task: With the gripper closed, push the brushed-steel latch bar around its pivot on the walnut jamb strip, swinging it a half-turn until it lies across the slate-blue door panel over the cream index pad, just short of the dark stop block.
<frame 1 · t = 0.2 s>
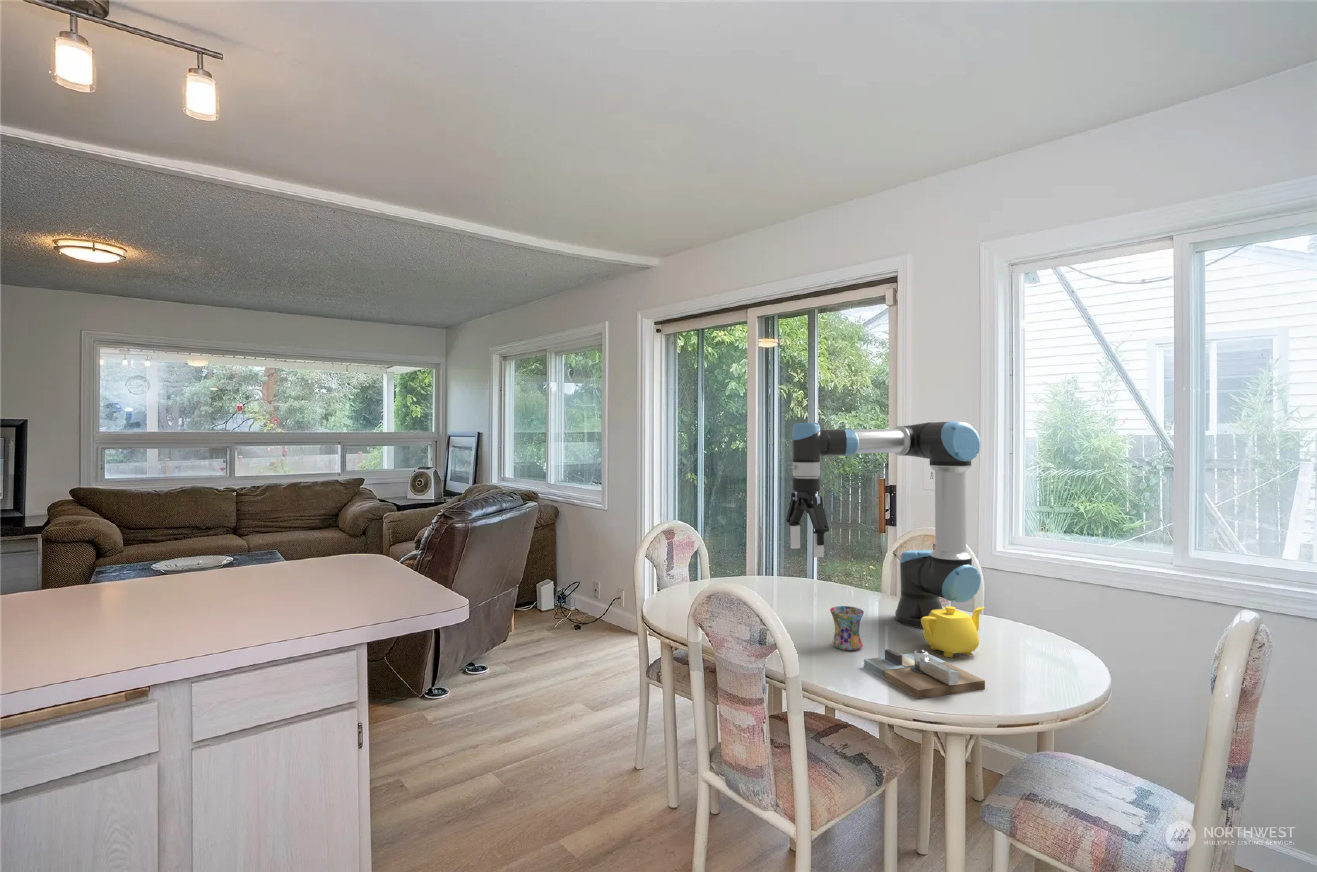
hand: (806, 552, 178), 28 cm above the table, fingers open, 13 cm apart
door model: (921, 678, 158), on the table
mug: (846, 646, 183), on the table
teapot: (953, 651, 178), on the table
latch bar: (934, 665, 153), point 5 cm above the table, hinge at 0.0°
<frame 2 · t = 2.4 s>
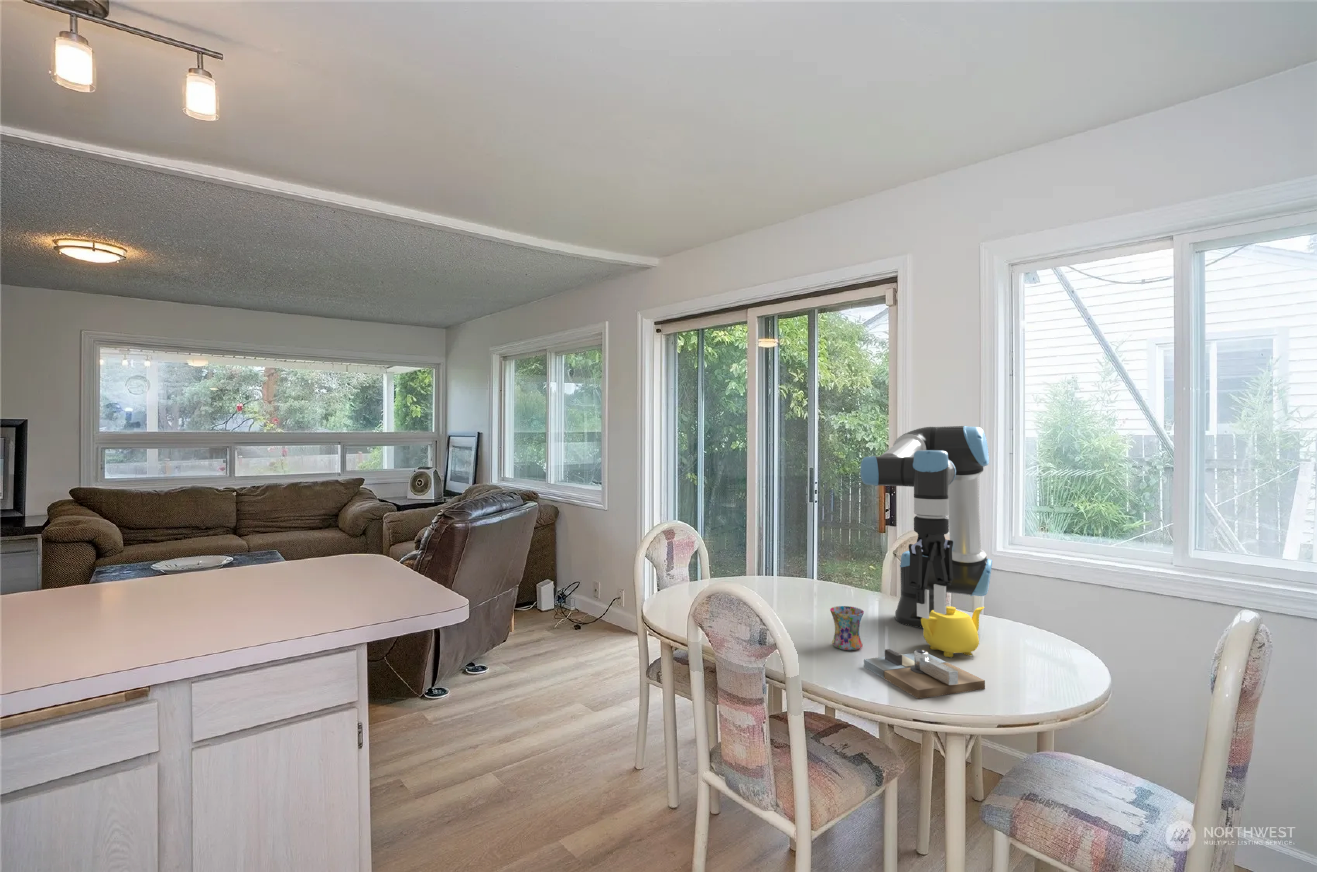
hand: (931, 614, 148), 19 cm above the table, fingers open, 6 cm apart
nothing on the table moved.
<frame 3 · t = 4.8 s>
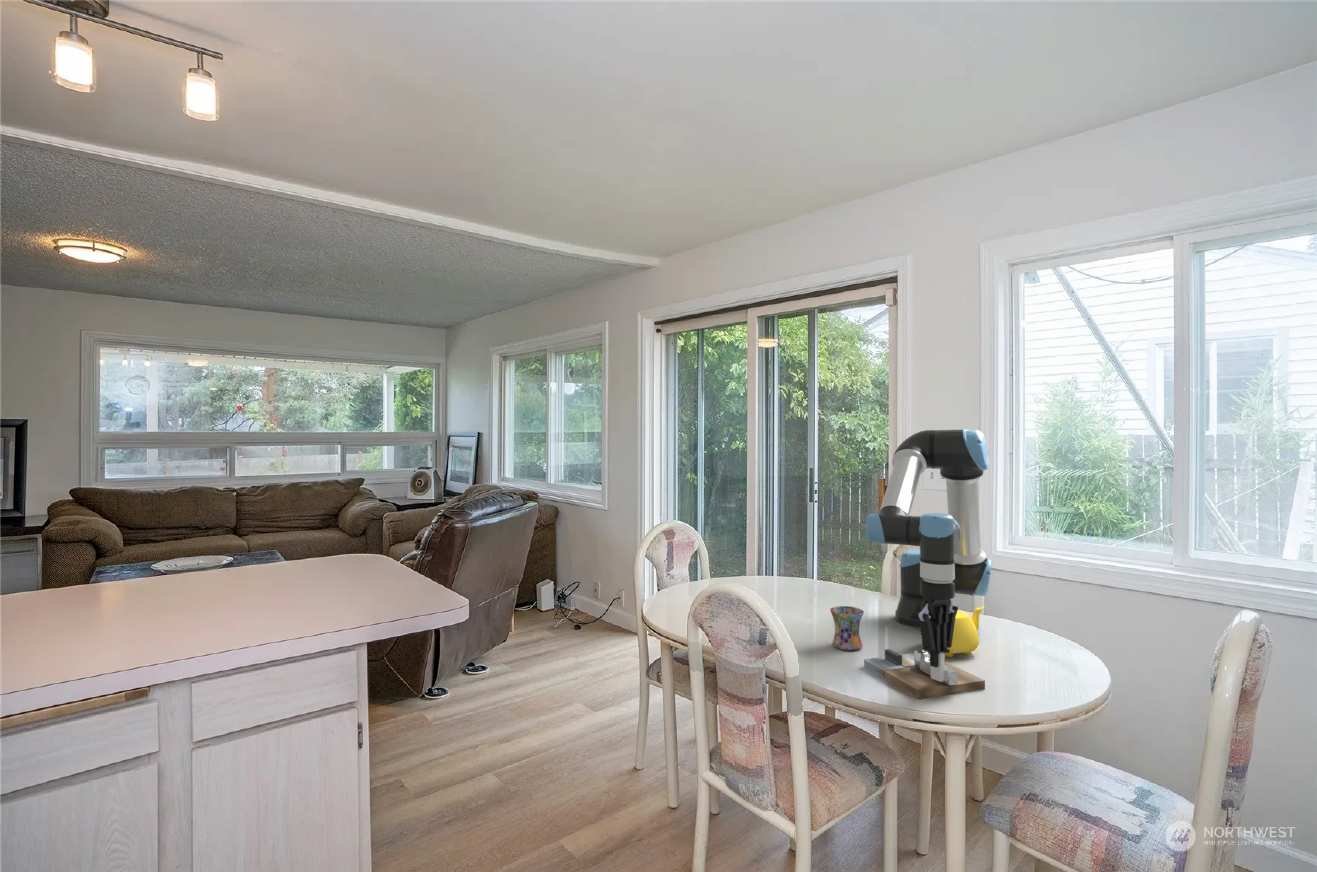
hand: (937, 679, 149), 3 cm above the table, fingers closed
latch bar: (934, 665, 153), point 5 cm above the table, hinge at 0.0°, touching gripper
everything else where it was.
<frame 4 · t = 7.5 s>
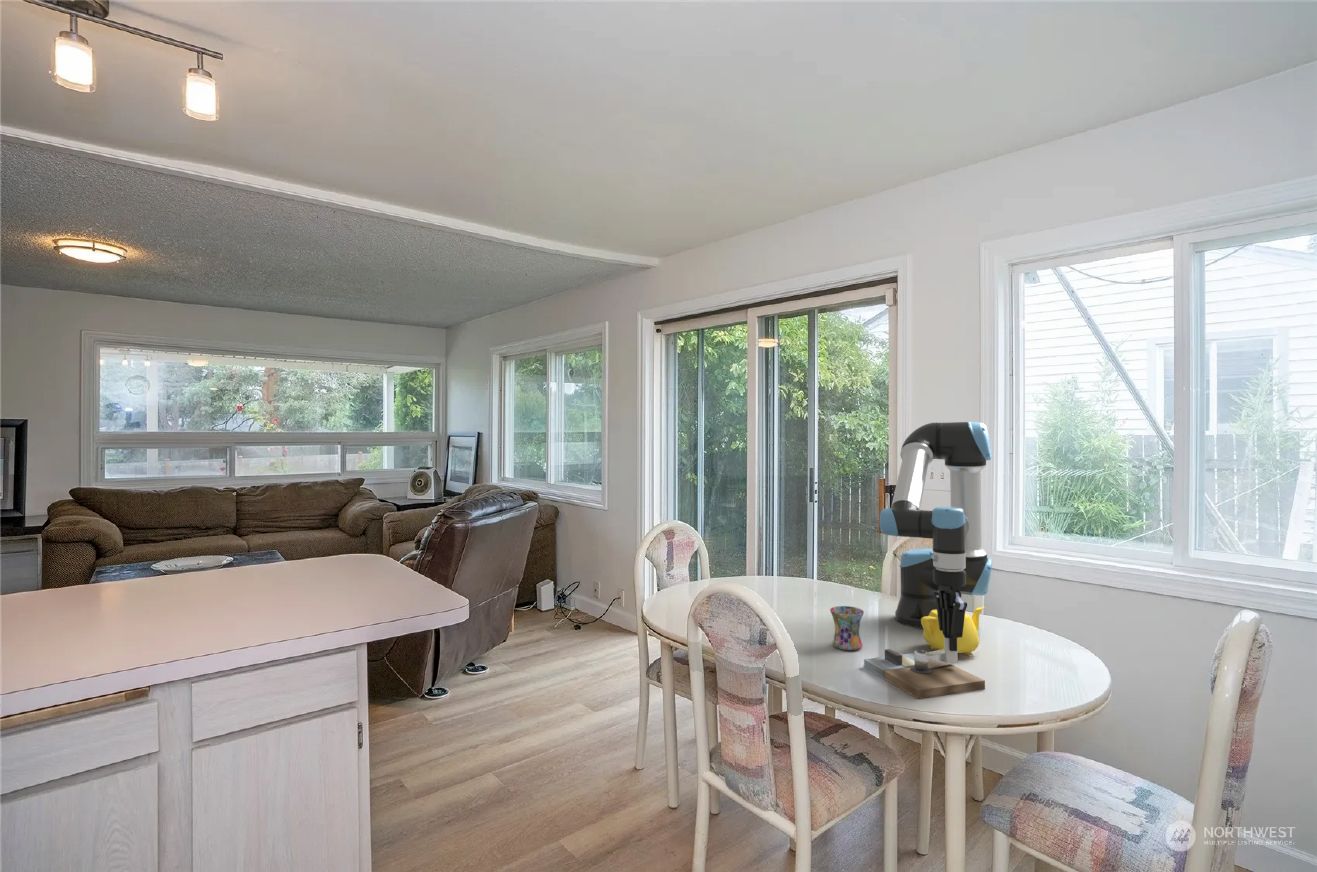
hand: (951, 662, 159), 3 cm above the table, fingers closed
latch bar: (934, 656, 160), point 5 cm above the table, hinge at 98.4°, touching gripper
everything else where it was.
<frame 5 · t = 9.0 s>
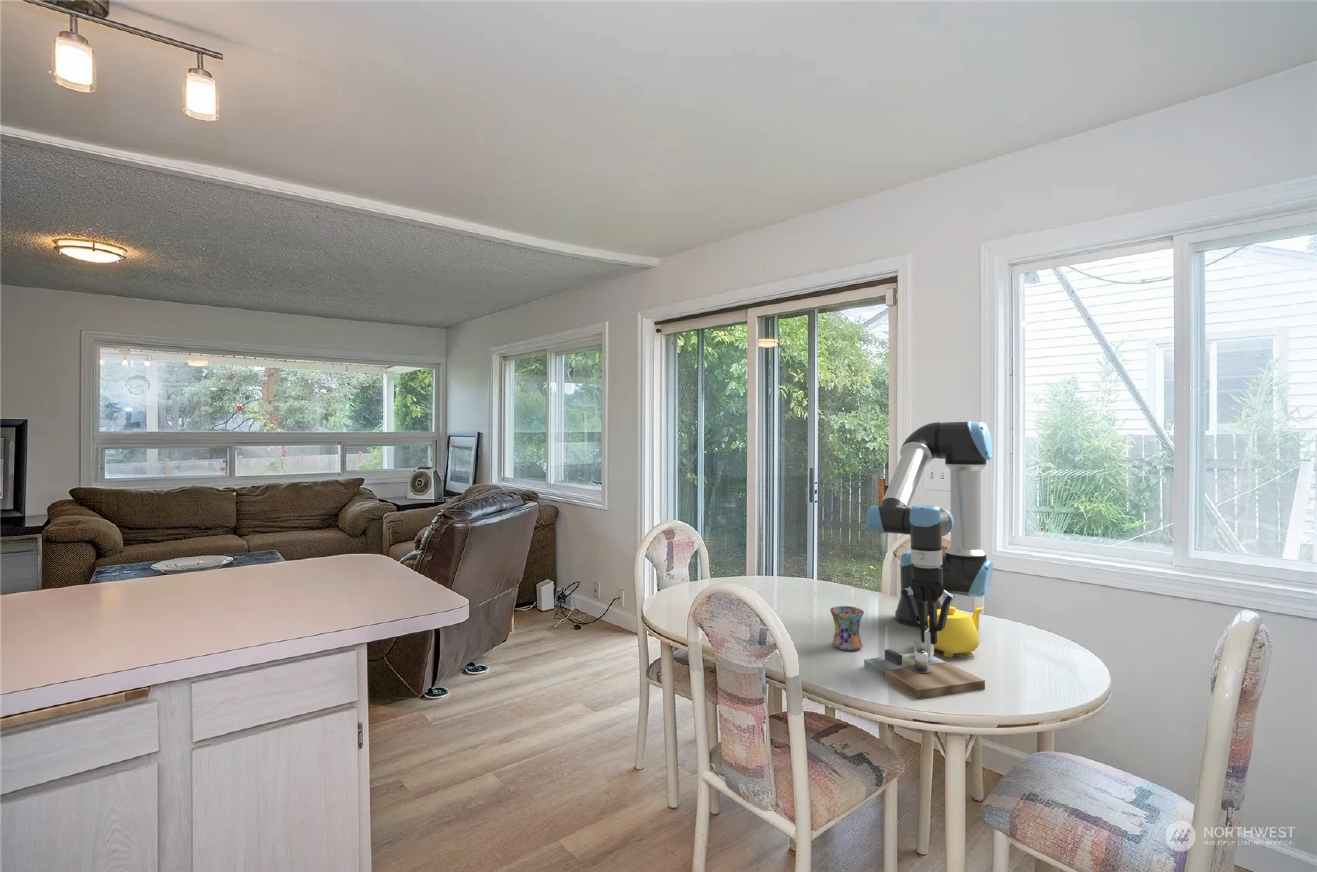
hand: (929, 655, 164), 3 cm above the table, fingers closed
latch bar: (920, 652, 162), point 5 cm above the table, hinge at 144.0°, touching gripper
everything else where it was.
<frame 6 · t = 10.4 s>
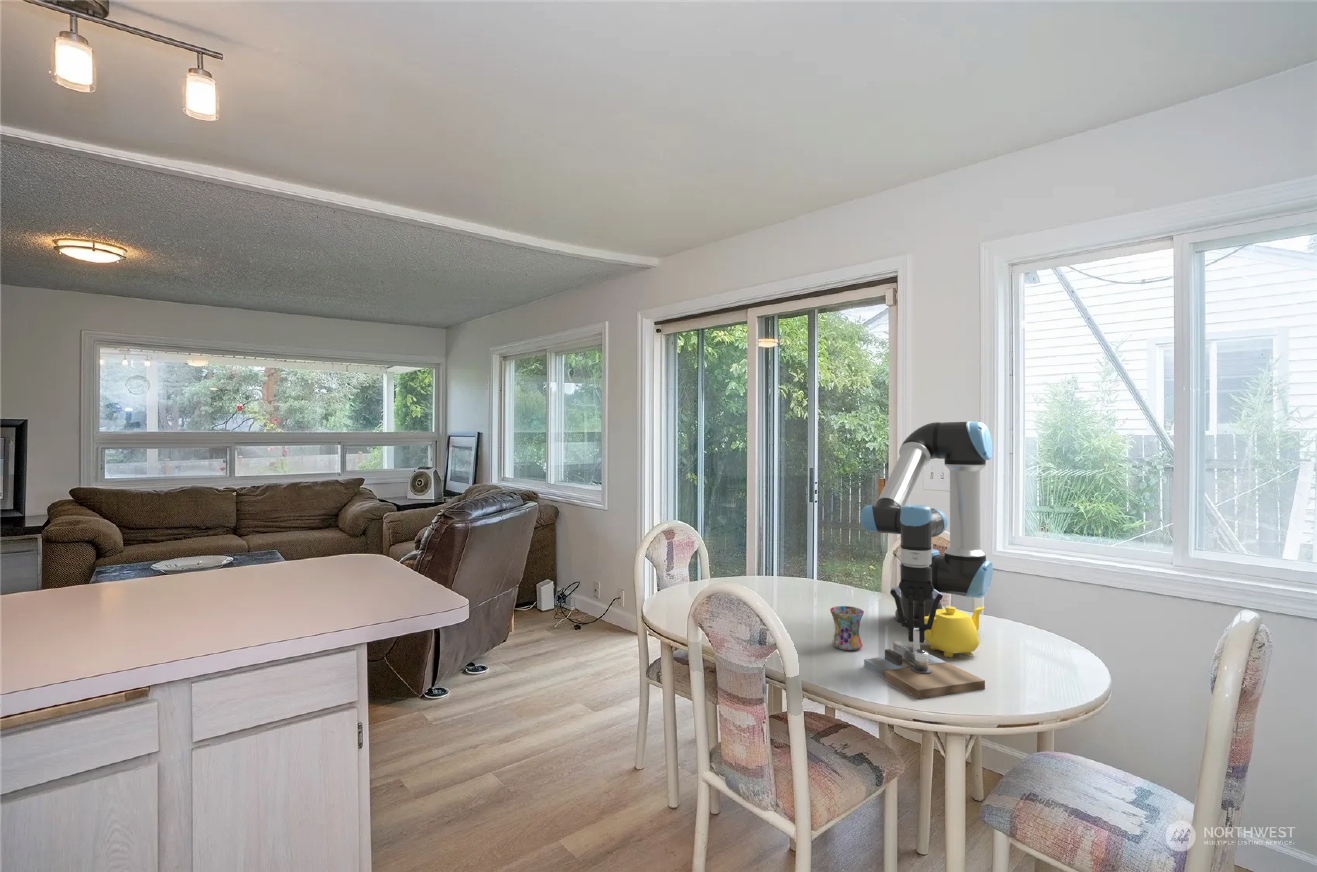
hand: (916, 654, 165), 3 cm above the table, fingers closed
latch bar: (910, 652, 163), point 5 cm above the table, hinge at 173.0°
everything else where it was.
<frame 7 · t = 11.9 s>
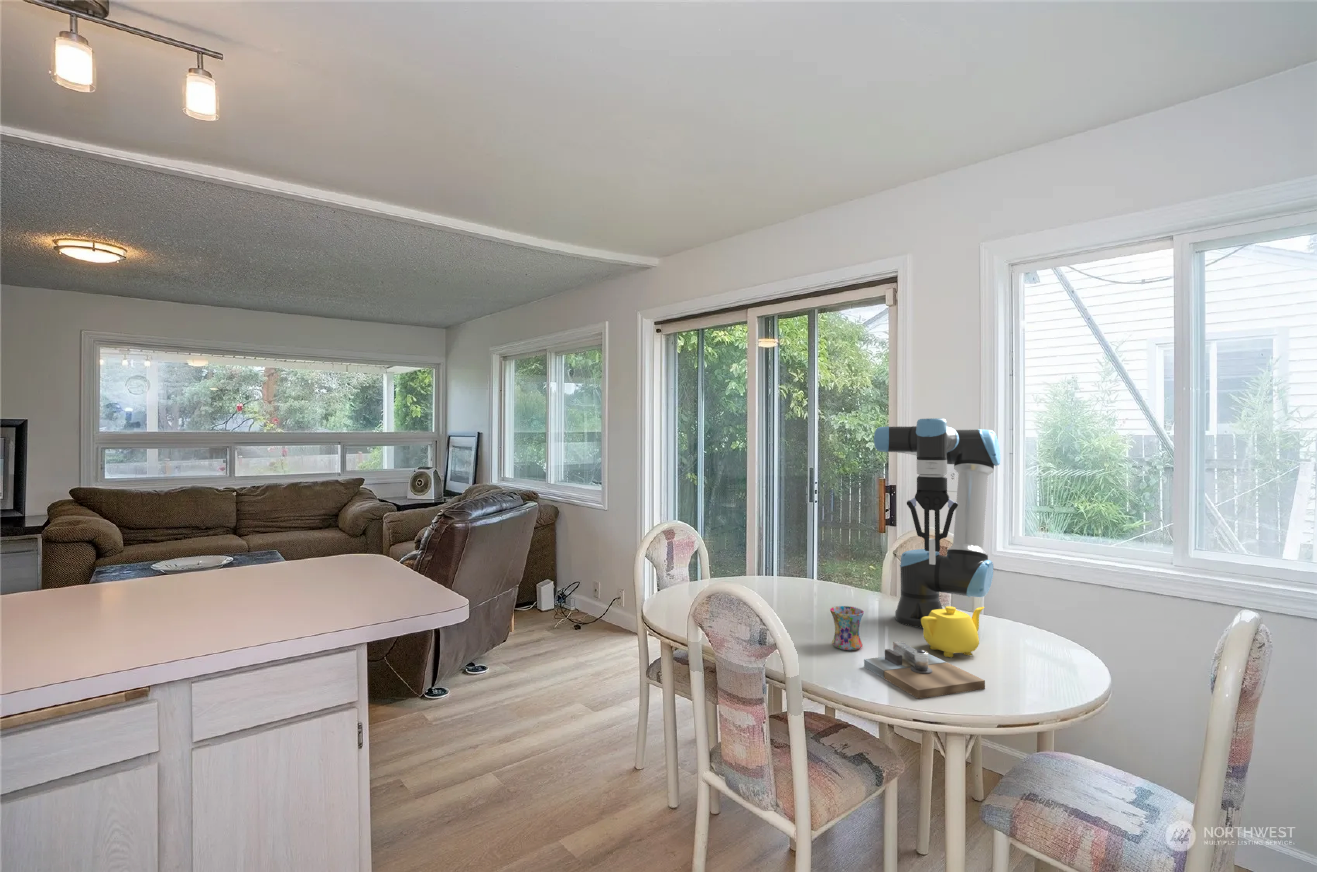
hand: (932, 563, 170), 26 cm above the table, fingers closed
nothing on the table moved.
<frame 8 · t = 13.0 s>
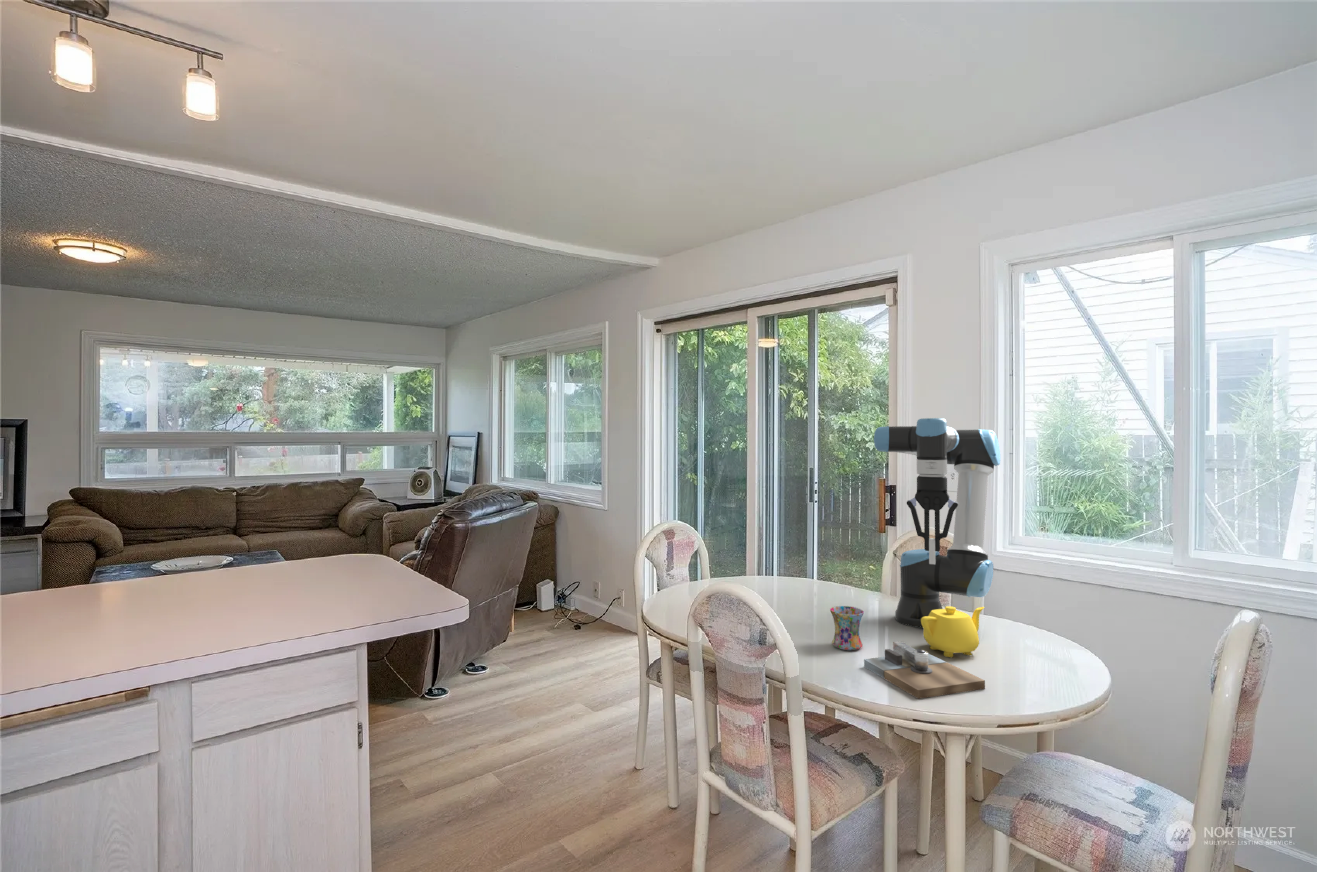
hand: (932, 563, 170), 26 cm above the table, fingers closed
nothing on the table moved.
at the end: latch bar at +173° (first picture: +0°) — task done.
